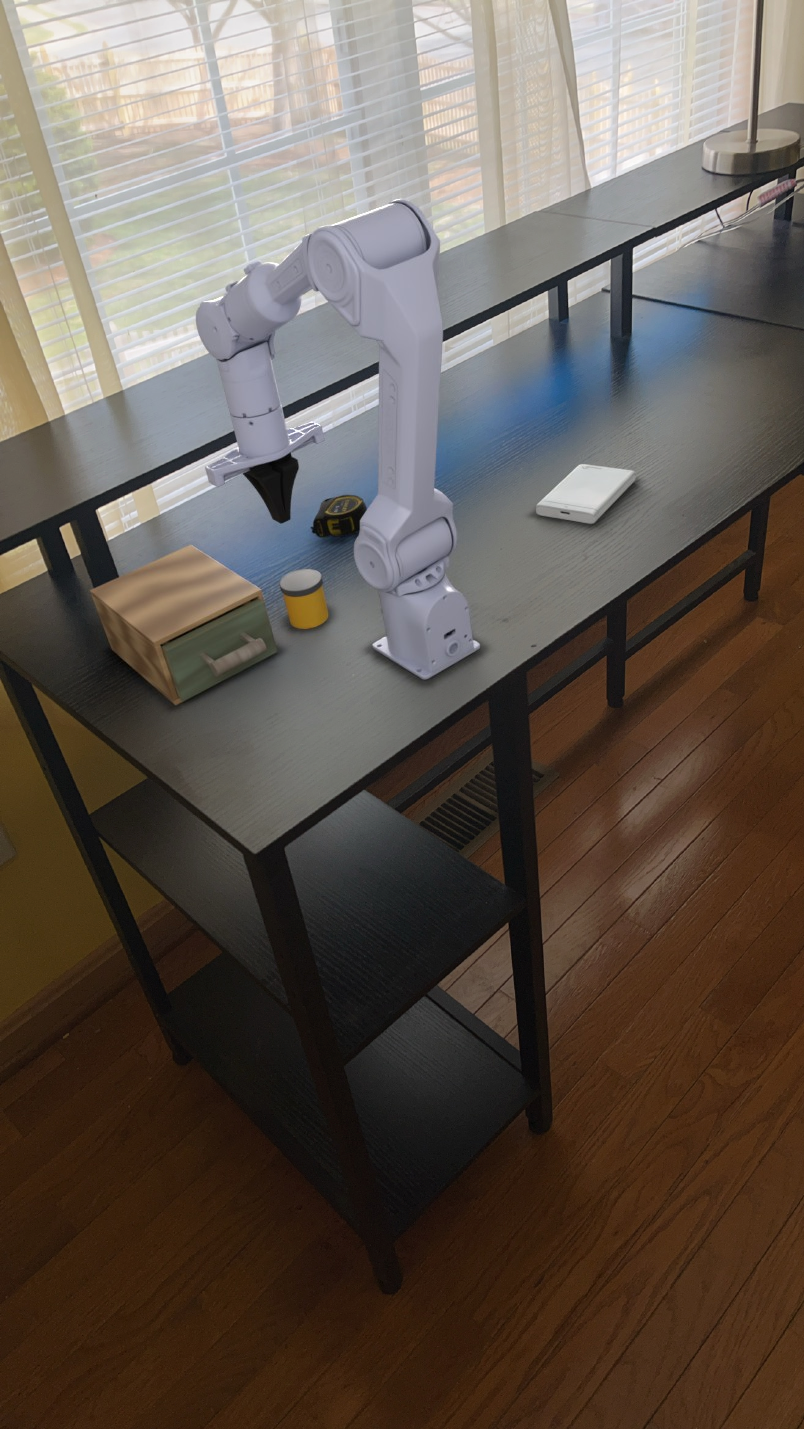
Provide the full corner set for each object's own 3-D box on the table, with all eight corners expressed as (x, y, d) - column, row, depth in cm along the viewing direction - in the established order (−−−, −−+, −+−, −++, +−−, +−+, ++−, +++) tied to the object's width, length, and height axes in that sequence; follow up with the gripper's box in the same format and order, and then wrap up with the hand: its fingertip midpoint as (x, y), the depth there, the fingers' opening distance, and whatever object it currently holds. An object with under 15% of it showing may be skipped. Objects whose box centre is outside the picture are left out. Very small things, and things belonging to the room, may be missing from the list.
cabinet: (277, 651, 116) (261, 589, 111) (175, 705, 111) (153, 642, 106) (208, 603, 127) (190, 544, 122) (111, 650, 122) (89, 590, 117)
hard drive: (578, 463, 140) (535, 503, 132) (635, 470, 136) (594, 512, 128) (579, 474, 141) (536, 515, 133) (635, 482, 137) (594, 524, 129)
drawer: (297, 666, 112) (285, 615, 108) (202, 718, 107) (185, 666, 103) (210, 605, 125) (196, 557, 121) (122, 648, 120) (104, 600, 116)
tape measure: (326, 518, 141) (320, 493, 139) (374, 516, 139) (370, 491, 137) (314, 543, 136) (308, 517, 133) (364, 541, 134) (359, 515, 132)
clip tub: (303, 634, 118) (294, 595, 115) (280, 619, 122) (271, 581, 118) (338, 616, 120) (329, 578, 117) (314, 602, 124) (306, 564, 120)
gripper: (290, 379, 119) (313, 487, 127) (180, 422, 113) (212, 533, 121) (324, 391, 114) (346, 503, 122) (212, 437, 108) (242, 551, 116)
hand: (281, 519), depth 121 cm, fingers closed
